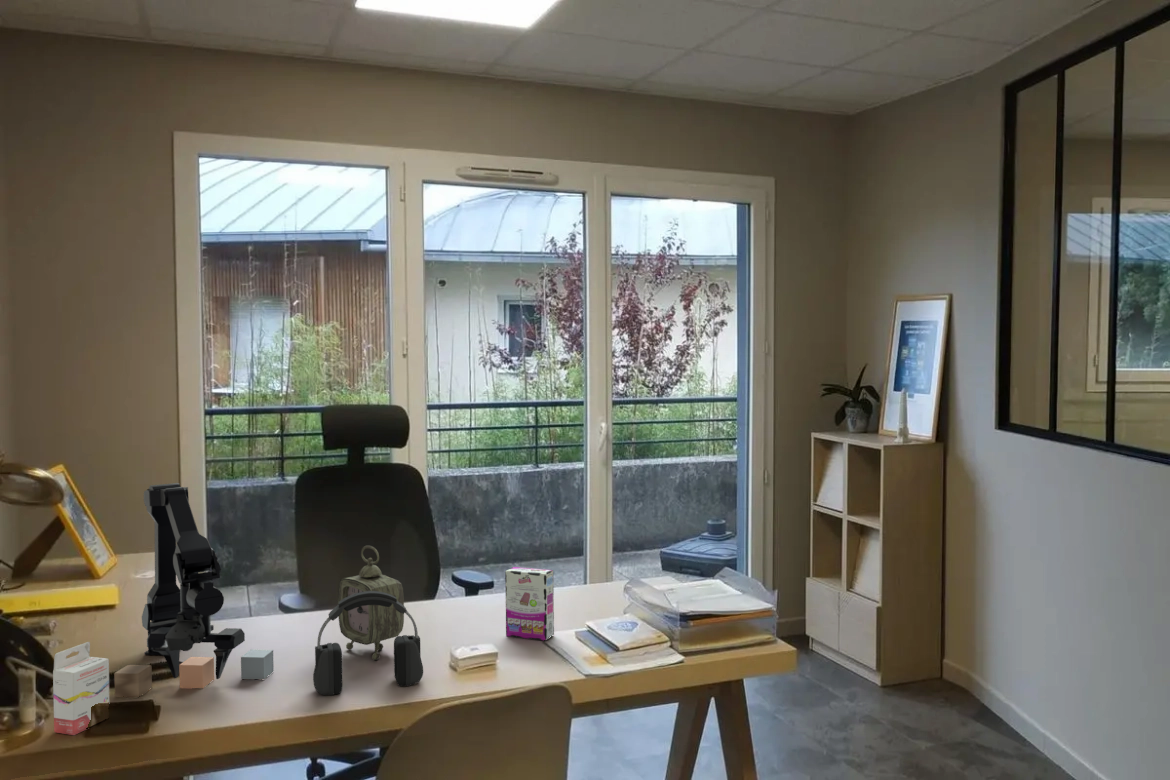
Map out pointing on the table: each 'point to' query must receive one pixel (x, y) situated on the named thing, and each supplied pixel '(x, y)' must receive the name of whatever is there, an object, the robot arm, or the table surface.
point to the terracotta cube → (196, 672)
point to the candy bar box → (529, 603)
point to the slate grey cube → (257, 664)
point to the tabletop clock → (370, 607)
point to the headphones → (330, 654)
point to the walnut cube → (133, 680)
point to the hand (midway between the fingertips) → (197, 678)
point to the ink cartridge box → (78, 688)
